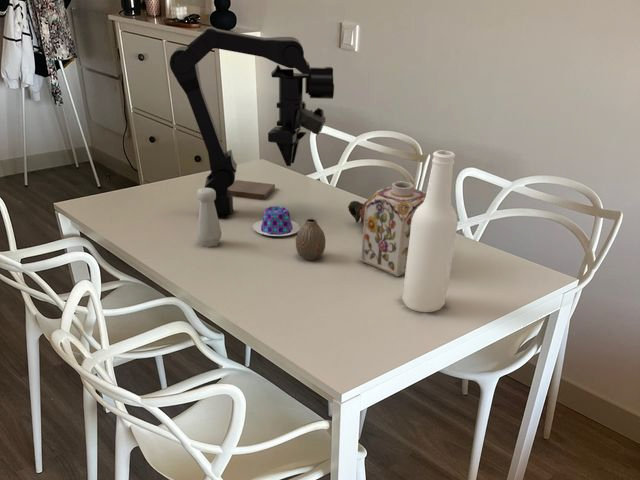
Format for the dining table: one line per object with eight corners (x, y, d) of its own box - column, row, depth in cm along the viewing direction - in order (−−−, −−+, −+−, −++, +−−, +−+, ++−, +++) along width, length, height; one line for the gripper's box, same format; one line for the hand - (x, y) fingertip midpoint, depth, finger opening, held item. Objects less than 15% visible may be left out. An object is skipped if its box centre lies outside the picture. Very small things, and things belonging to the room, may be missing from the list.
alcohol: (415, 316, 133) (436, 161, 115) (394, 297, 139) (411, 148, 121) (452, 309, 136) (478, 157, 118) (430, 291, 142) (451, 145, 124)
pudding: (282, 242, 162) (282, 221, 158) (243, 231, 167) (242, 210, 163) (309, 228, 170) (309, 208, 167) (271, 218, 175) (271, 198, 172)
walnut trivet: (224, 195, 188) (224, 189, 188) (236, 184, 196) (236, 179, 195) (264, 200, 186) (264, 194, 185) (274, 189, 194) (274, 184, 193)
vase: (314, 265, 151) (316, 228, 146) (289, 258, 154) (290, 221, 149) (330, 255, 156) (332, 219, 151) (305, 249, 159) (306, 212, 154)
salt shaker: (224, 240, 162) (221, 186, 154) (219, 249, 157) (216, 193, 149) (201, 238, 162) (196, 184, 154) (195, 247, 157) (190, 192, 150)
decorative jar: (392, 249, 161) (400, 173, 150) (429, 264, 154) (441, 185, 143) (358, 261, 154) (364, 183, 143) (396, 278, 147) (406, 196, 137)
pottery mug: (392, 224, 176) (399, 202, 168) (380, 250, 172) (386, 229, 164) (351, 206, 176) (356, 184, 169) (337, 232, 173) (342, 210, 165)
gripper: (313, 108, 152) (311, 178, 161) (331, 93, 166) (329, 158, 176) (266, 104, 154) (267, 173, 163) (289, 89, 168) (288, 154, 178)
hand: (290, 164), depth 170 cm, fingers open, 3 cm apart
